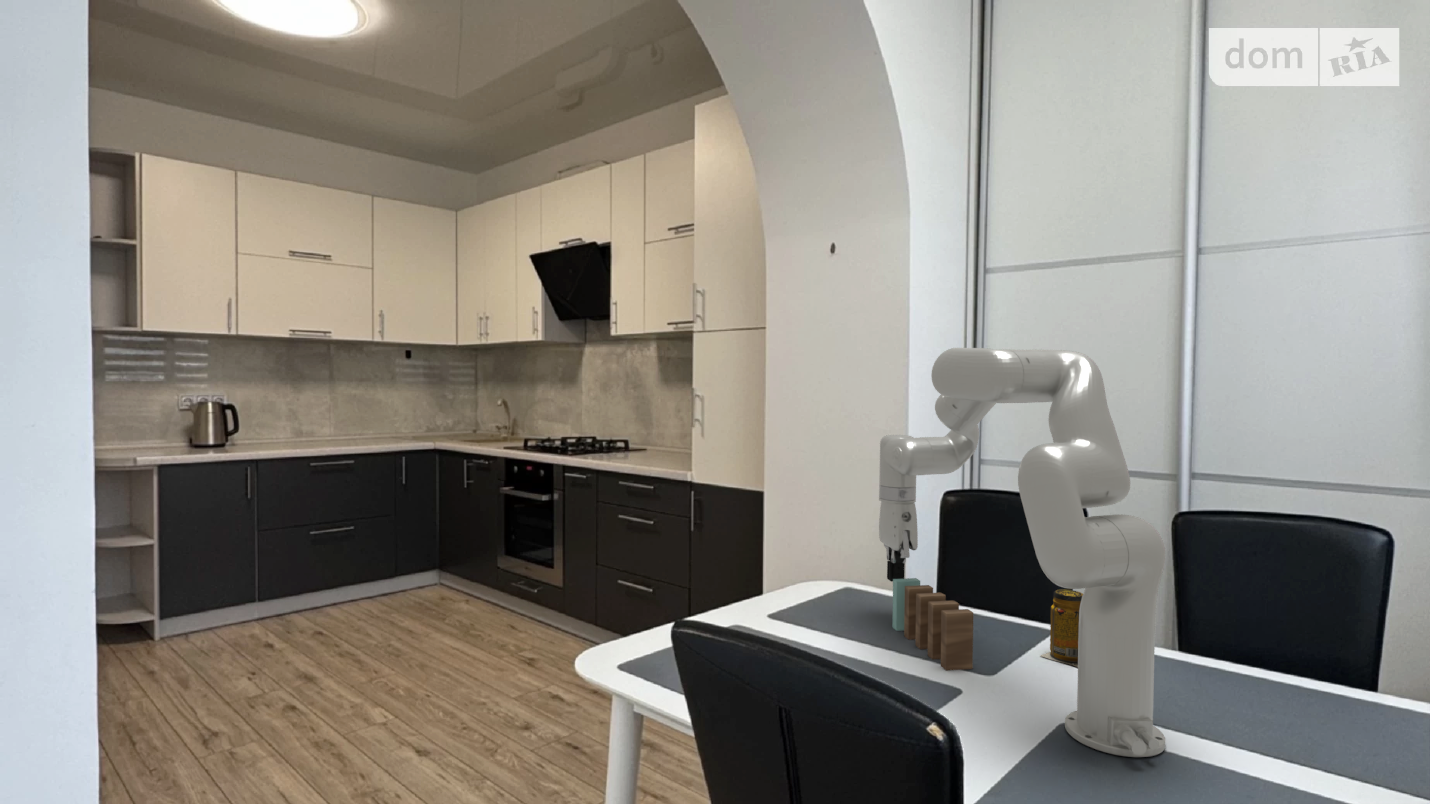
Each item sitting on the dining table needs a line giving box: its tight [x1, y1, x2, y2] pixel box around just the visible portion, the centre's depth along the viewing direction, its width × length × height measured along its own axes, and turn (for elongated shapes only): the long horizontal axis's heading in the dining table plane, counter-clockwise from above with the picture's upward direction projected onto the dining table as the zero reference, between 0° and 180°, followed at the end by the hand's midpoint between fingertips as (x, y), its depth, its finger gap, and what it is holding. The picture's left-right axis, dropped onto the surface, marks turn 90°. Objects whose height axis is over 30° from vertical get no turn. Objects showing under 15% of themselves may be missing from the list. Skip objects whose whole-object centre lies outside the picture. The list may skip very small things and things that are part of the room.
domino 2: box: [903, 584, 934, 641], centre depth 147 cm, size 2×5×10 cm, turn 100°
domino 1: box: [892, 577, 921, 632], centre depth 152 cm, size 2×5×10 cm, turn 99°
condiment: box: [1040, 588, 1084, 668], centre depth 136 cm, size 7×8×12 cm
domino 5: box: [940, 608, 974, 671], centre depth 131 cm, size 2×5×10 cm, turn 100°
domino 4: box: [927, 600, 960, 660], centre depth 137 cm, size 2×5×10 cm, turn 99°
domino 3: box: [915, 592, 947, 650], centre depth 142 cm, size 2×5×10 cm, turn 100°
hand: (895, 580), depth 158 cm, fingers closed
